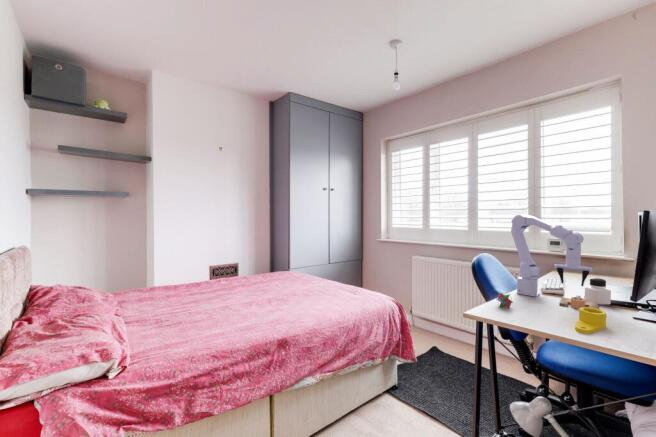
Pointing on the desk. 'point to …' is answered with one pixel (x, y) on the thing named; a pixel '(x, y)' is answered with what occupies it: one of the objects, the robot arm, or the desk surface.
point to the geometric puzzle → (504, 300)
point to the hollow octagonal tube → (577, 303)
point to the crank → (590, 320)
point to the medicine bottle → (598, 292)
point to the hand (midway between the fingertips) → (572, 284)
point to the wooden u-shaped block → (568, 301)
